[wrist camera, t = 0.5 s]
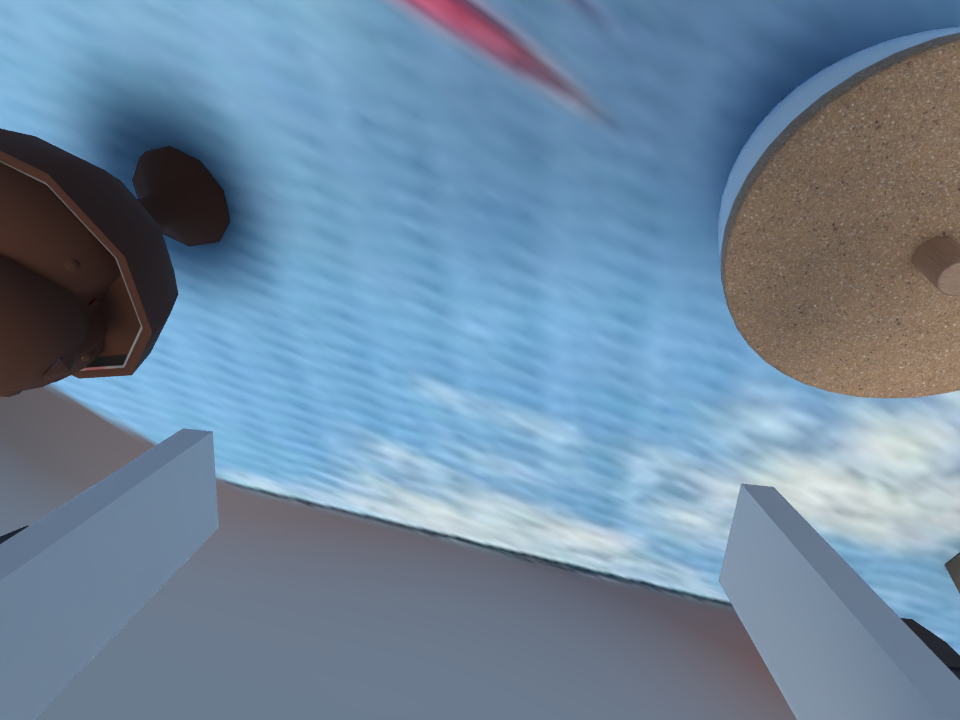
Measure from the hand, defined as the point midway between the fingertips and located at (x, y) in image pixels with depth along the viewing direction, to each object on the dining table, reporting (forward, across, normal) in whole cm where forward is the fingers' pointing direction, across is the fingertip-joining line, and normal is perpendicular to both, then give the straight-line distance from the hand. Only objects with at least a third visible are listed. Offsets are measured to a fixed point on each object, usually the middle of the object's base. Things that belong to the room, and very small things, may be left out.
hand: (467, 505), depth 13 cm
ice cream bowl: (+18, -18, +7) cm, 26 cm away
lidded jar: (+11, +14, +10) cm, 20 cm away
